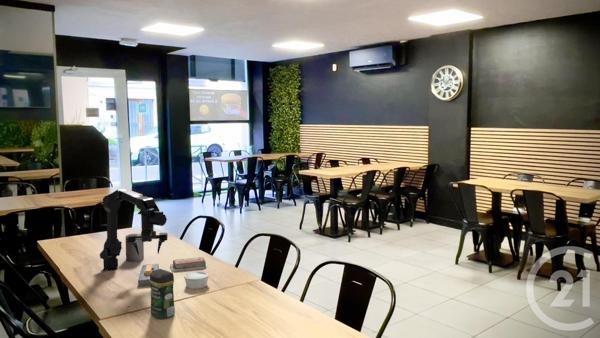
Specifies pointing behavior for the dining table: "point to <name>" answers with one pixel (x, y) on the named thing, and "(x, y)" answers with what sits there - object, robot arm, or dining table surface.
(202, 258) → the packaged product
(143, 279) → the grey slotted plate
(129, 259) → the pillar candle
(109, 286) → the dining table surface
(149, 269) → the long orange beam
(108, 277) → the dining table surface
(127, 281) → the dining table surface
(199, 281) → the ramekin
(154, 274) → the coffee jar
